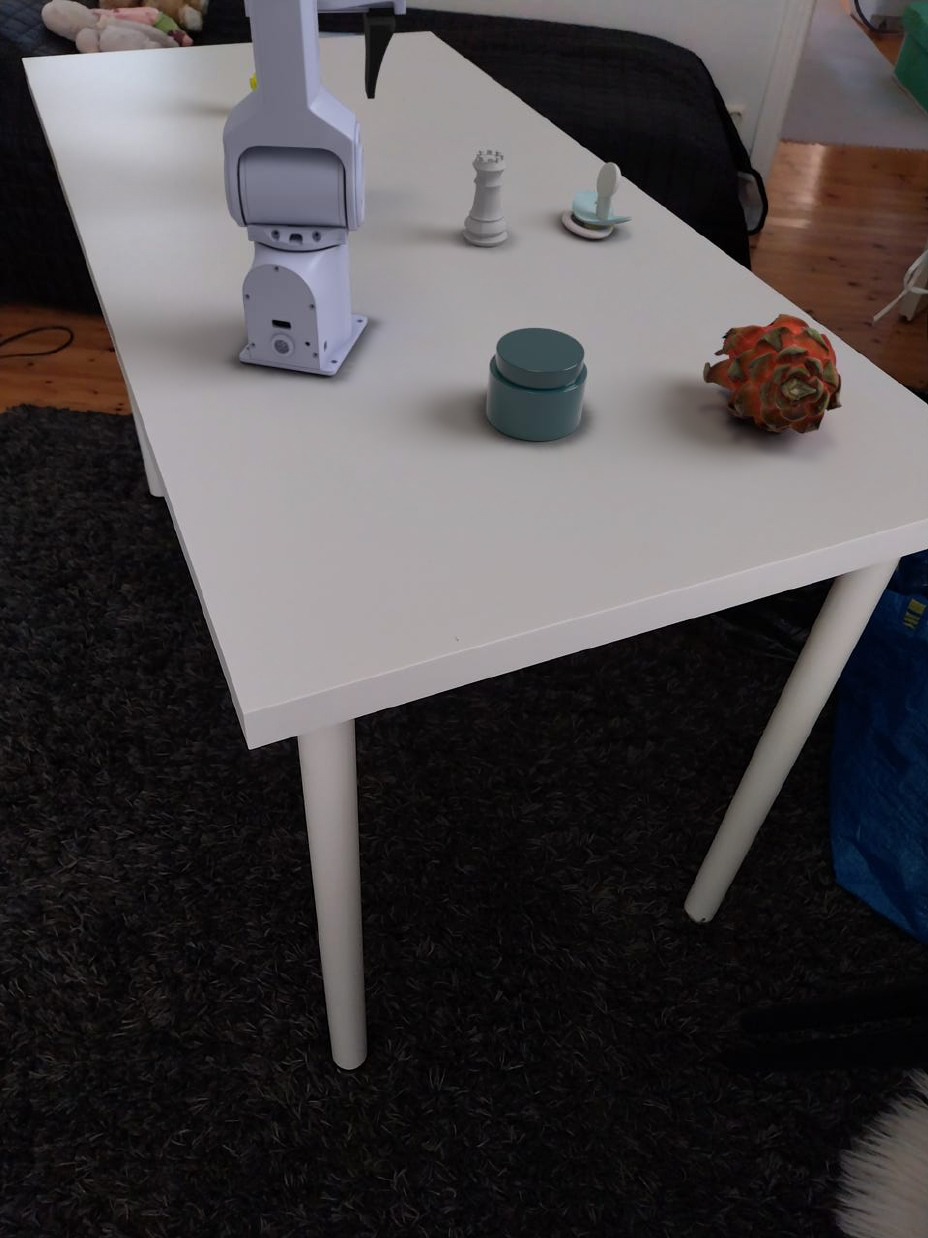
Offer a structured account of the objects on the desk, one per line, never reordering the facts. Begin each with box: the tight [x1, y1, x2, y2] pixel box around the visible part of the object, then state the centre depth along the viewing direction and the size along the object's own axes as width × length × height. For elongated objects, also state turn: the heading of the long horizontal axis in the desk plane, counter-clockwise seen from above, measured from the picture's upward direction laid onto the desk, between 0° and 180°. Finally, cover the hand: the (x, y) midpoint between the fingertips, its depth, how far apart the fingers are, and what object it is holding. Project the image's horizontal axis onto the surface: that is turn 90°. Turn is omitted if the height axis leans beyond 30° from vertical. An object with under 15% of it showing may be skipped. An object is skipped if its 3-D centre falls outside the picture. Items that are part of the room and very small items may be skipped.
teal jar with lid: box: [485, 327, 588, 442], centre depth 71 cm, size 7×7×6 cm
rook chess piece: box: [462, 148, 509, 248], centre depth 93 cm, size 4×4×8 cm
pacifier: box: [561, 161, 633, 239], centre depth 96 cm, size 7×6×6 cm
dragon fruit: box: [702, 313, 843, 435], centre depth 72 cm, size 8×8×12 cm
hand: (330, 95), depth 94 cm, fingers open, 7 cm apart
